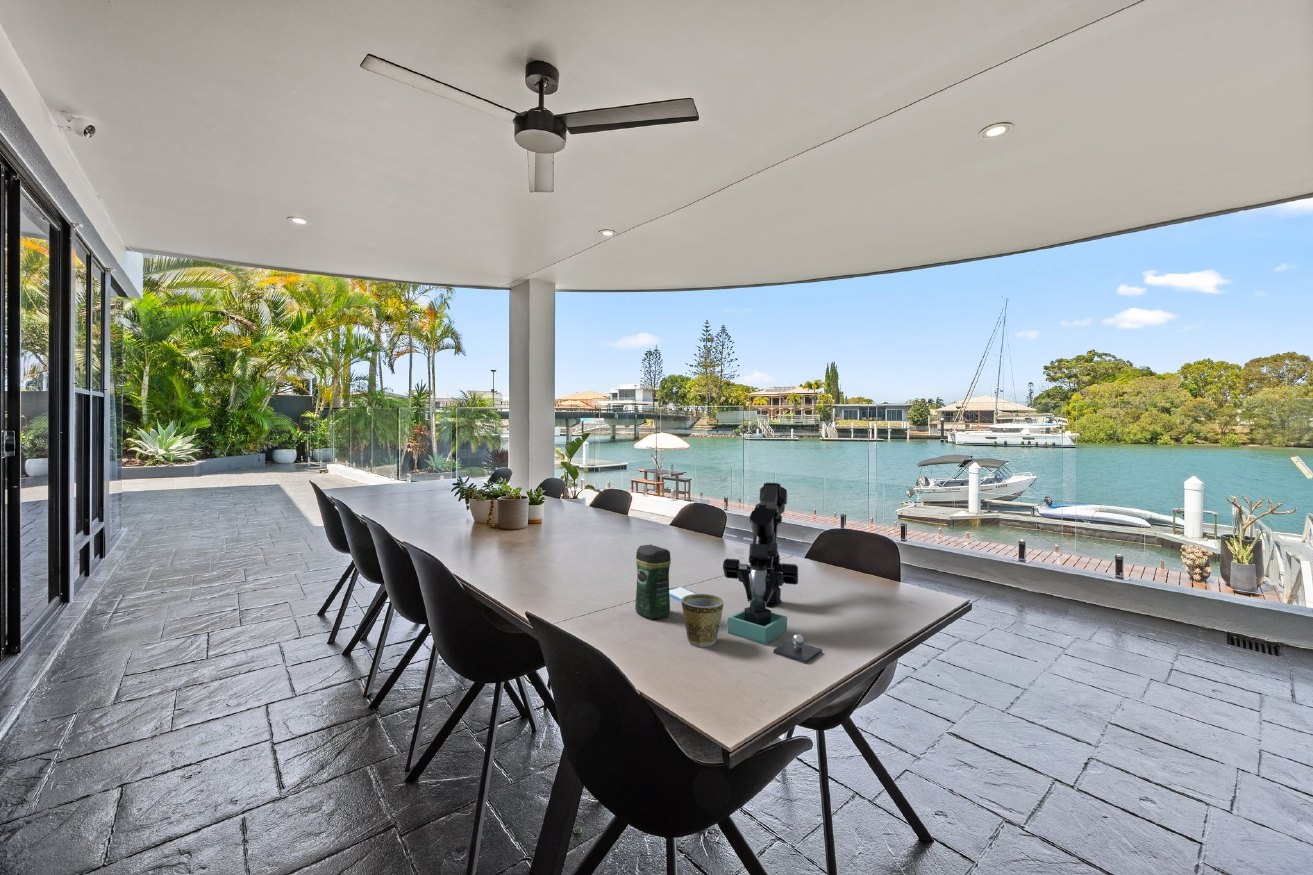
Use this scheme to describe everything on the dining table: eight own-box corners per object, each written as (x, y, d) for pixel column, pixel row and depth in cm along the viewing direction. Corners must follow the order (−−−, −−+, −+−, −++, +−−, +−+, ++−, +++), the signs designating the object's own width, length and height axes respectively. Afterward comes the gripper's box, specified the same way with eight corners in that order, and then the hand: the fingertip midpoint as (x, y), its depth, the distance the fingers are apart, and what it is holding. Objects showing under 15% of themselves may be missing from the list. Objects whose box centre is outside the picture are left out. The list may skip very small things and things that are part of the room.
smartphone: (692, 605, 154) (661, 590, 166) (692, 609, 154) (661, 593, 166) (712, 600, 158) (680, 586, 171) (712, 604, 158) (680, 589, 171)
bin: (727, 633, 135) (727, 617, 134) (750, 621, 142) (750, 606, 142) (765, 645, 128) (765, 628, 127) (786, 632, 135) (787, 616, 135)
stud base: (773, 653, 123) (773, 634, 123) (790, 642, 129) (790, 624, 129) (806, 663, 118) (806, 644, 118) (822, 652, 124) (822, 633, 124)
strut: (744, 623, 136) (745, 568, 135) (758, 620, 138) (759, 566, 138) (756, 629, 132) (757, 572, 131) (770, 625, 134) (771, 570, 134)
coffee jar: (674, 616, 146) (676, 547, 146) (651, 622, 141) (652, 551, 141) (653, 606, 154) (654, 541, 153) (630, 611, 149) (631, 544, 149)
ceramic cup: (728, 649, 125) (728, 606, 125) (685, 651, 123) (686, 608, 123) (713, 628, 138) (713, 589, 138) (674, 629, 136) (675, 590, 136)
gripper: (724, 527, 141) (716, 581, 131) (798, 532, 135) (795, 589, 125) (729, 550, 149) (721, 603, 138) (799, 556, 143) (796, 611, 133)
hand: (757, 601), depth 134 cm, fingers closed on strut, 4 cm apart
